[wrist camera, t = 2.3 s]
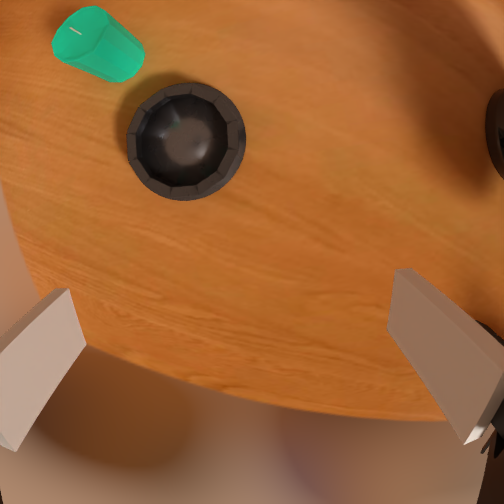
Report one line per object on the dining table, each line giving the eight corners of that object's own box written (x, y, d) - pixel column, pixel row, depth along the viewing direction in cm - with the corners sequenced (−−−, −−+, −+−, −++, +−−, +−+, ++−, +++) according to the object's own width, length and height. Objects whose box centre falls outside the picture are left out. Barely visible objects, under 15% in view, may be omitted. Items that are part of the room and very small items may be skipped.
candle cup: (161, 68, 28) (154, 62, 26) (267, 113, 30) (268, 110, 28) (113, 171, 32) (103, 173, 29) (212, 219, 34) (209, 224, 31)
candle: (99, 88, 29) (40, 68, 17) (100, 45, 27) (47, 13, 15) (145, 77, 29) (98, 46, 17) (145, 32, 27) (103, -10, 15)
